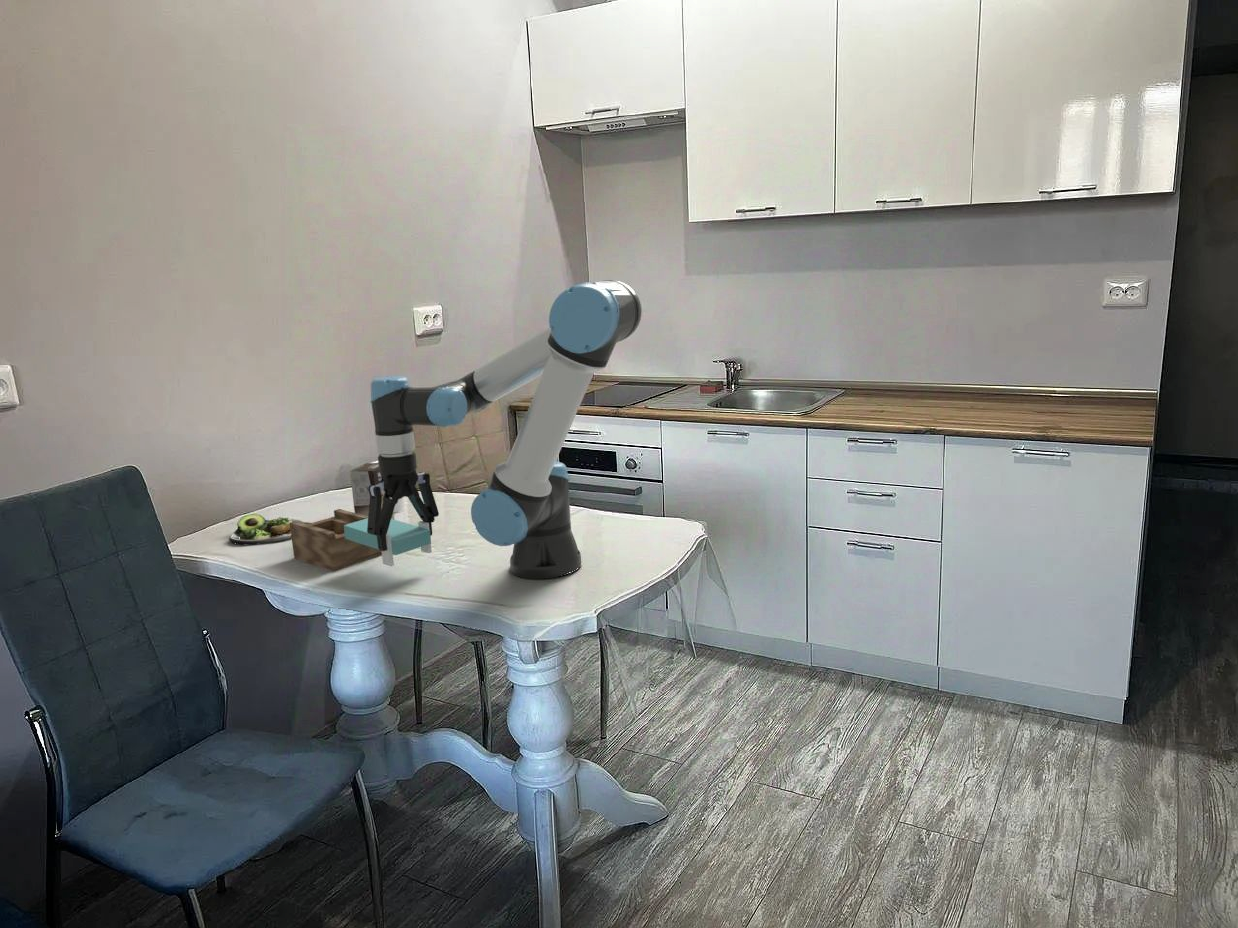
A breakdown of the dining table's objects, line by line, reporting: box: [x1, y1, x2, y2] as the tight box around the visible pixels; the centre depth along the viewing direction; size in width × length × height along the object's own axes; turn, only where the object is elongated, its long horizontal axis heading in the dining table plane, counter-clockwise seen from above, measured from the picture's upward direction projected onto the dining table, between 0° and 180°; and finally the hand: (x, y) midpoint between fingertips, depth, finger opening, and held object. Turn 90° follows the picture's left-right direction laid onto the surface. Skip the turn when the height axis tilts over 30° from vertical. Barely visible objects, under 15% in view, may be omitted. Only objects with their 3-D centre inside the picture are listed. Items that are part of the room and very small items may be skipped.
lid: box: [344, 518, 432, 556], centre depth 198 cm, size 18×9×3 cm, turn 49°
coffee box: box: [349, 462, 396, 520], centre depth 231 cm, size 9×6×16 cm
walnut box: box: [290, 508, 382, 572], centre depth 212 cm, size 16×13×8 cm
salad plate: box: [229, 513, 311, 545], centre depth 233 cm, size 19×18×5 cm
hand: (407, 557), depth 195 cm, fingers closed on lid, 9 cm apart
